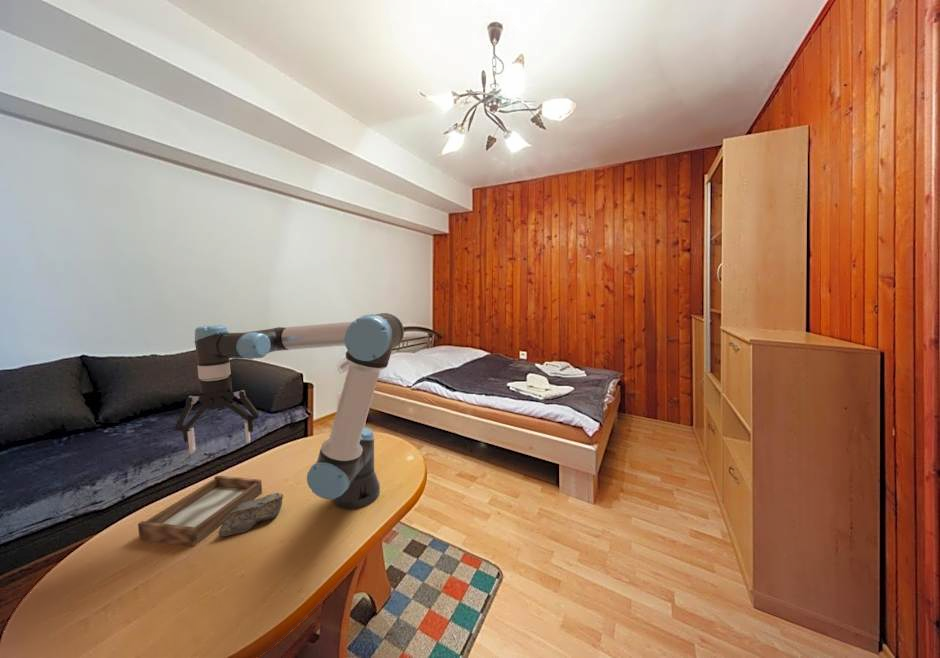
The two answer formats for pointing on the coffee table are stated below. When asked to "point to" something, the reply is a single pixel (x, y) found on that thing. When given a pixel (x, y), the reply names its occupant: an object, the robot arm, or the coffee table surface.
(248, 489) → the wooden tray
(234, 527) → the rock
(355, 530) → the coffee table surface
